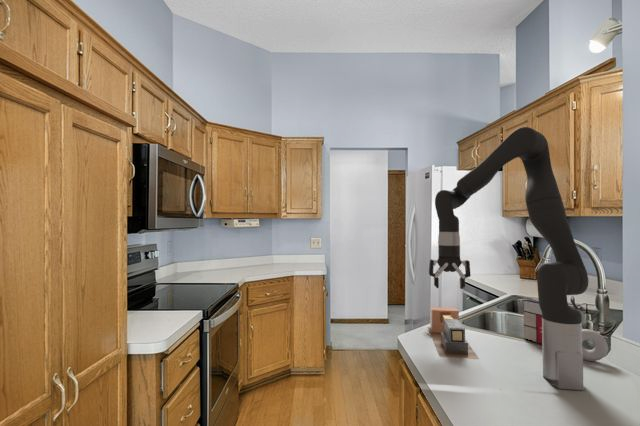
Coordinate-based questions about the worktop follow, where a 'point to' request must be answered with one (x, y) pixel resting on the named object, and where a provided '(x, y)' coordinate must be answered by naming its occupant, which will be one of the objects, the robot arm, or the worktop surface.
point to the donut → (599, 342)
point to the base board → (437, 341)
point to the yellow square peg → (454, 333)
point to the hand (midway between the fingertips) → (449, 288)
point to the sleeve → (447, 341)
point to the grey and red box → (532, 321)
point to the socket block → (441, 317)
